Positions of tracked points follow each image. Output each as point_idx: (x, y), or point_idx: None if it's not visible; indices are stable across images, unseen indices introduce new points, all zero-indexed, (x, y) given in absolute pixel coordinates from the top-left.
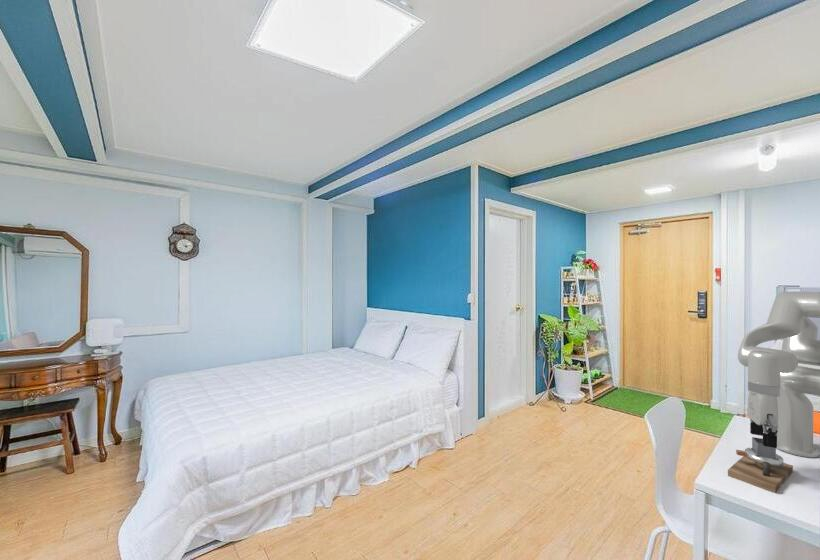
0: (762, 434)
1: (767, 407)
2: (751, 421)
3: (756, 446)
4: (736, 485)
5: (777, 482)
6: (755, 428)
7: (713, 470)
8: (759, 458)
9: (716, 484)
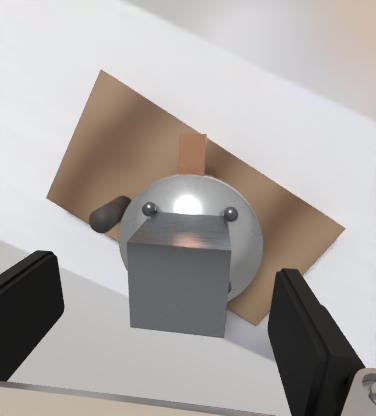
0: (270, 334)
1: None
2: (356, 375)
3: (154, 229)
4: (48, 85)
5: (83, 218)
6: (289, 331)
7: (136, 28)
8: (127, 209)
9: (12, 6)
